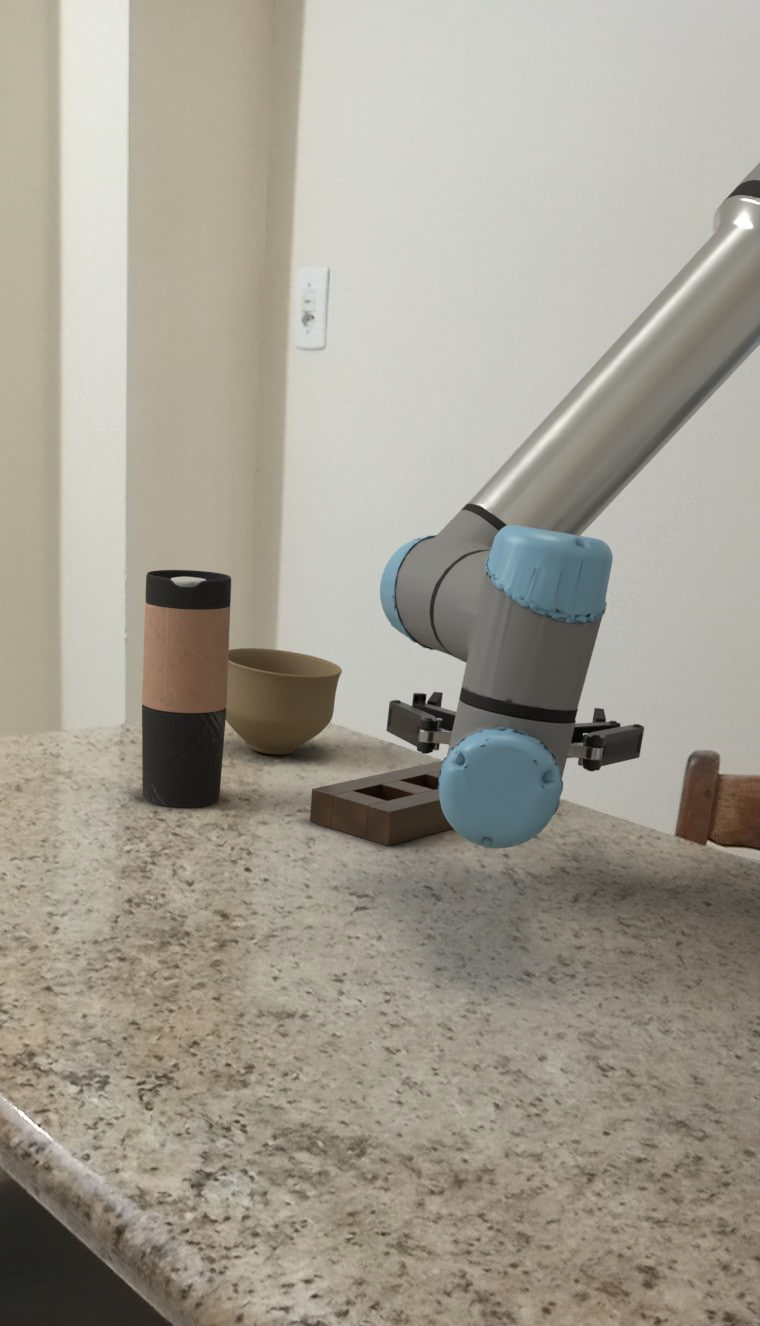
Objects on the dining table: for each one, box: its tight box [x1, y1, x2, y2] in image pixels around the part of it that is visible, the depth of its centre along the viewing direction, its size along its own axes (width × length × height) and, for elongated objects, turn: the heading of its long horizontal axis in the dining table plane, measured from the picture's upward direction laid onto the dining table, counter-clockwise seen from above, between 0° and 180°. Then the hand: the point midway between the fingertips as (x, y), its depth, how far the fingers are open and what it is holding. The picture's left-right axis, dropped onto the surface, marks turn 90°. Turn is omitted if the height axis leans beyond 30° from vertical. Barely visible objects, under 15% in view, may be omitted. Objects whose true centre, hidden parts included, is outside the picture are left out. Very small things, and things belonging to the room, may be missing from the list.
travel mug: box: [141, 569, 232, 808], centre depth 124 cm, size 8×8×20 cm
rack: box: [309, 760, 453, 846], centre depth 125 cm, size 9×22×3 cm, turn 134°
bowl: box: [225, 647, 343, 756], centre depth 144 cm, size 13×13×10 cm
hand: (515, 715), depth 118 cm, fingers open, 13 cm apart
